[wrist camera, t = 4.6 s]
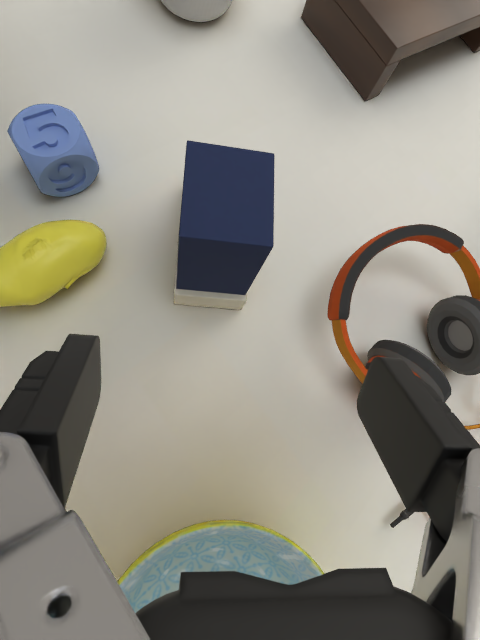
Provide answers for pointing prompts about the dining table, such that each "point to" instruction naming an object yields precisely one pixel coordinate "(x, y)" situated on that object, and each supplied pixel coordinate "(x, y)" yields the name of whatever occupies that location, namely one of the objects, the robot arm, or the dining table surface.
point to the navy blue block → (223, 224)
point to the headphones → (443, 322)
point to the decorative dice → (54, 149)
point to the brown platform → (387, 33)
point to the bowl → (215, 558)
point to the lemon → (48, 260)
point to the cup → (198, 9)
